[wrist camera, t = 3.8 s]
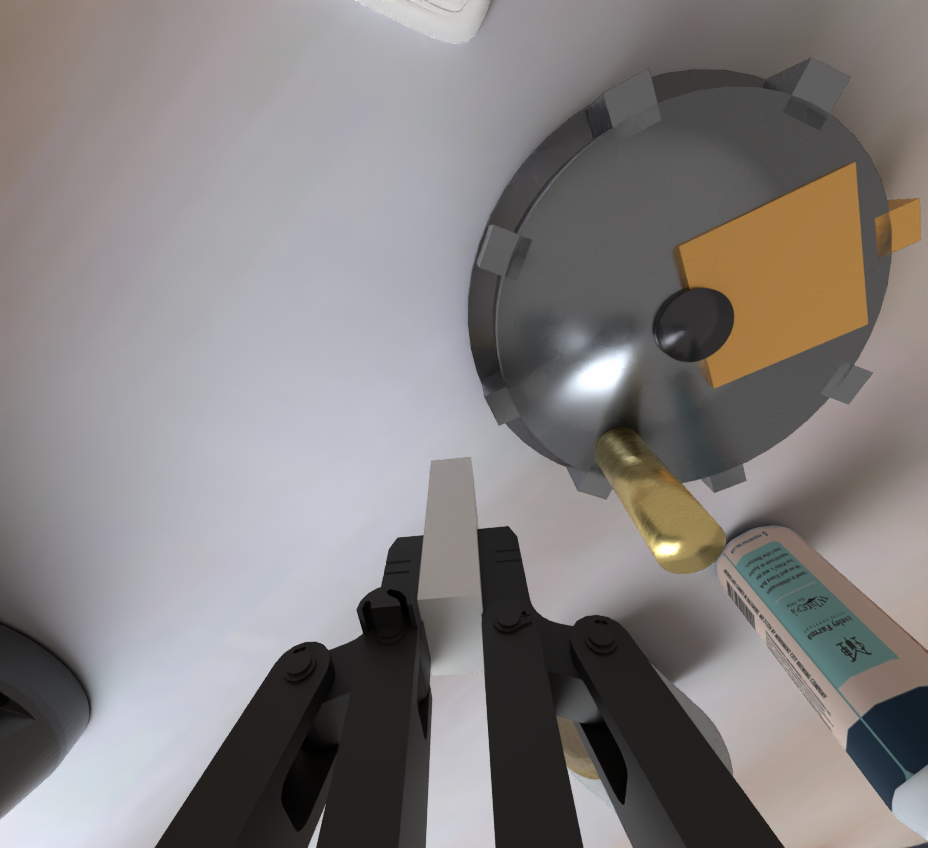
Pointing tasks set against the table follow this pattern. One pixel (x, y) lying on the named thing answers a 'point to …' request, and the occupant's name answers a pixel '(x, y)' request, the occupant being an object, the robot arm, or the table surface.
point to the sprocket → (692, 292)
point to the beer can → (839, 659)
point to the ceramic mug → (584, 767)
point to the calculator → (435, 16)
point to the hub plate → (523, 192)
